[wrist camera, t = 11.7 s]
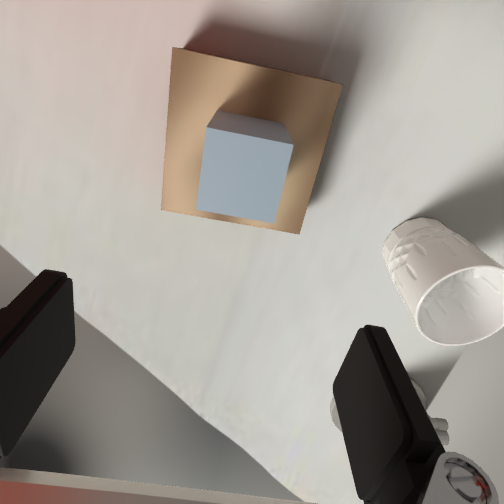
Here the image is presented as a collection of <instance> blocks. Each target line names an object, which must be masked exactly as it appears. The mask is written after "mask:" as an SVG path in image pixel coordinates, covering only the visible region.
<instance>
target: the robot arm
mask: <svg viewBox="0 0 504 504" xmlns="http://www.w3.org/2000/svg"><path fill="white" fill-rule="evenodd" d="M74 347H75V324H74V303H73V282H72V279H71V278H67V274H66V273H64V272H59V271H53V270H47V269H46V270H43V271H42V272H41V273H40V274H39V275H38V276H37V277H36V278H35V279H34V280H33V281H32V282H31V283H30V284H29V285H28V286H27V287H26V288H25V289H24V290H23V291H22V292H21V293H20V294H19V295H18V296H17V297H16V298H15V299H14V300H13V301H12V302H11V303H10V304H9V305H8V306H7V307H4V308H1V309H0V458H1V456H4V457H5V456H7V455H8V454H9V453H10V452H11V451H12V449H13V448H14V446H15V445H16V443H17V441H18V440H19V438H20V436H21V435H22V433H23V432H24V430H25V428H26V427H27V425H28V424H29V422H30V420H31V418H32V417H33V416H34V414H35V412H36V411H37V409H38V407H39V406H40V404H41V403H42V401H43V399H44V398H45V396H46V395H47V393H48V391H49V390H50V388H51V386H52V384H53V383H54V382H55V380H56V378H57V377H58V375H59V374H60V372H61V370H62V368H63V367H64V366H65V364H66V362H67V361H68V359H69V357H70V356H71V354H72V352H73V350H74ZM333 394H334V398H333V400H332V402H331V406H330V412H331V416H332V421H333V422H334V424H335V426H336V427H337V428H338V429H339V430H340V431H342V432H343V436H344V441H345V445H346V449H347V453H348V457H349V462H350V466H351V470H352V474H353V478H354V483H355V487H356V491H357V494H358V497H359V498H360V499H361V500H363V501H364V504H499V501H498V494H497V491H496V488H495V486H494V484H493V483H492V481H491V480H490V478H489V476H488V475H487V474H486V473H485V472H484V471H483V470H482V469H481V467H479V466H478V465H477V464H476V463H474V462H473V461H472V460H471V459H469V458H467V457H465V456H464V455H461V454H458V453H456V452H445V450H444V448H443V445H447V444H448V443H449V435H448V433H447V431H446V430H447V429H448V422H447V421H446V420H445V419H440V418H431V417H430V416H429V415H428V414H427V412H426V405H427V402H426V397H425V395H424V393H423V391H422V389H421V388H420V386H419V385H418V384H417V383H416V382H414V381H413V380H411V379H410V378H409V376H408V374H407V372H406V370H405V368H404V366H403V364H402V362H401V359H400V357H399V355H398V353H397V351H396V349H395V347H394V345H393V343H392V341H391V339H390V337H389V335H388V333H387V331H386V329H385V328H383V327H378V326H373V325H365V326H364V328H360V329H359V330H358V332H357V334H356V336H355V338H354V340H353V342H352V344H351V346H350V349H349V351H348V353H347V355H346V357H345V359H344V361H343V363H342V366H341V368H340V370H339V372H338V374H337V376H336V378H335V380H334V383H333ZM0 504H316V503H308V502H300V501H292V500H283V499H276V498H268V497H260V496H251V495H243V494H235V493H226V492H218V491H210V490H201V489H192V488H184V487H176V486H167V485H158V484H150V483H141V482H132V481H124V480H114V479H105V478H96V477H88V476H79V475H70V474H61V473H53V472H42V471H32V470H20V469H10V468H0Z"/></svg>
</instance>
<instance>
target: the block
mask: <svg viewBox="0 0 504 504" xmlns="http://www.w3.org/2000/svg"><path fill="white" fill-rule="evenodd" d="M293 146H294V144H293V142H292V140H291V138H290V136H289V134H288V131H287V129H286V127H285V125H284V124H283V123H278V122H273V121H268V120H264V119H259V118H254V117H249V116H244V115H239V114H235V113H230V112H225V111H220V110H217V111H216V112H215V114H214V116H213V117H212V119H211V120H210V122H209V123H208V125H207V127H206V132H205V140H204V149H203V157H202V165H201V173H200V181H199V189H198V197H197V205H196V210H201V211H206V212H212V213H218V214H223V215H229V216H234V217H240V218H246V219H251V220H257V221H262V222H268V223H274V222H275V218H276V214H277V210H278V206H279V202H280V198H281V194H282V190H283V186H284V182H285V178H286V174H287V170H288V166H289V162H290V158H291V154H292V150H293Z"/></svg>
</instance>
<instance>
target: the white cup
mask: <svg viewBox="0 0 504 504" xmlns="http://www.w3.org/2000/svg"><path fill="white" fill-rule="evenodd" d="M382 257H383V259H384V261H385V264H386V266H387V268H388V270H389V272H390V275H391V278H392V280H393V282H394V284H395V286H396V288H397V290H398V292H399V294H400V296H401V298H402V300H403V302H404V304H405V306H406V308H407V309H408V311H409V313H410V315H411V317H412V319H413V321H414V322H415V324H416V326H417V328H418V330H419V332H420V333H421V334H422V335H423V336H424V337H425V338H426V339H428V340H430V341H432V342H434V343H437V344H440V345H446V346H460V345H467V344H471V343H475V342H478V341H481V340H483V339H485V338H487V337H489V336H491V335H493V334H494V333H496V332H497V331H499V330H500V329H501V328H503V327H504V267H503V266H501V265H500V264H499V263H497V262H496V261H495V260H493V259H492V258H490V257H489V256H488V255H487V254H485V253H484V252H483V251H481V250H480V249H479V248H478V247H476V246H475V245H473V244H472V243H470V242H469V241H468V240H466V239H465V238H463V237H462V236H460V235H459V234H458V233H455V232H453V231H451V230H450V229H448V228H447V227H445V226H444V225H443V224H442V223H440V222H439V221H438V220H435V219H429V218H423V217H421V218H417V219H413V220H408V221H405V222H404V223H402V224H401V225H399V226H398V227H397V228H395V229H394V230H392V232H391V233H390V235H389V236H388V238H387V239H386V240H385V242H384V246H383V253H382Z"/></svg>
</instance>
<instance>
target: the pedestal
mask: <svg viewBox="0 0 504 504" xmlns="http://www.w3.org/2000/svg"><path fill="white" fill-rule="evenodd" d="M342 87H343V85H341V84H338V83H335V82H332V81H328V80H323V79H319V78H314V77H310V76H305V75H301V74H296V73H292V72H287V71H283V70H278V69H273V68H269V67H264V66H260V65H255V64H251V63H246V62H242V61H237V60H233V59H228V58H224V57H219V56H215V55H210V54H206V53H201V52H197V51H192V50H188V49H183V48H174V47H172V61H171V75H170V89H169V103H168V117H167V132H166V146H165V160H164V174H163V188H162V203H161V210H164V211H170V212H175V213H181V214H187V215H192V216H198V217H204V218H209V219H215V220H221V221H226V222H232V223H238V224H243V225H249V226H255V227H260V228H266V229H272V230H277V231H283V232H289V233H294V234H299V233H300V230H301V227H302V223H303V220H304V216H305V213H306V210H307V206H308V203H309V199H310V196H311V192H312V189H313V186H314V182H315V179H316V175H317V172H318V169H319V165H320V162H321V158H322V155H323V151H324V148H325V145H326V141H327V138H328V134H329V131H330V128H331V124H332V121H333V117H334V114H335V110H336V107H337V104H338V100H339V97H340V93H341V90H342ZM217 110H220V111H225V112H230V113H235V114H239V115H244V116H249V117H254V118H259V119H264V120H268V121H273V122H278V123H283V124H284V125H285V127H286V129H287V131H288V134H289V136H290V138H291V140H292V142H293V144H294V146H293V150H292V154H291V158H290V162H289V166H288V170H287V174H286V178H285V182H284V186H283V190H282V194H281V198H280V202H279V206H278V210H277V214H276V218H275V222H274V223H268V222H262V221H257V220H251V219H246V218H240V217H234V216H229V215H223V214H218V213H212V212H206V211H201V210H196V205H197V197H198V189H199V181H200V173H201V165H202V157H203V149H204V140H205V132H206V127H207V125H208V123H209V122H210V120H211V119H212V117H213V116H214V114H215V112H216V111H217Z"/></svg>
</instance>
